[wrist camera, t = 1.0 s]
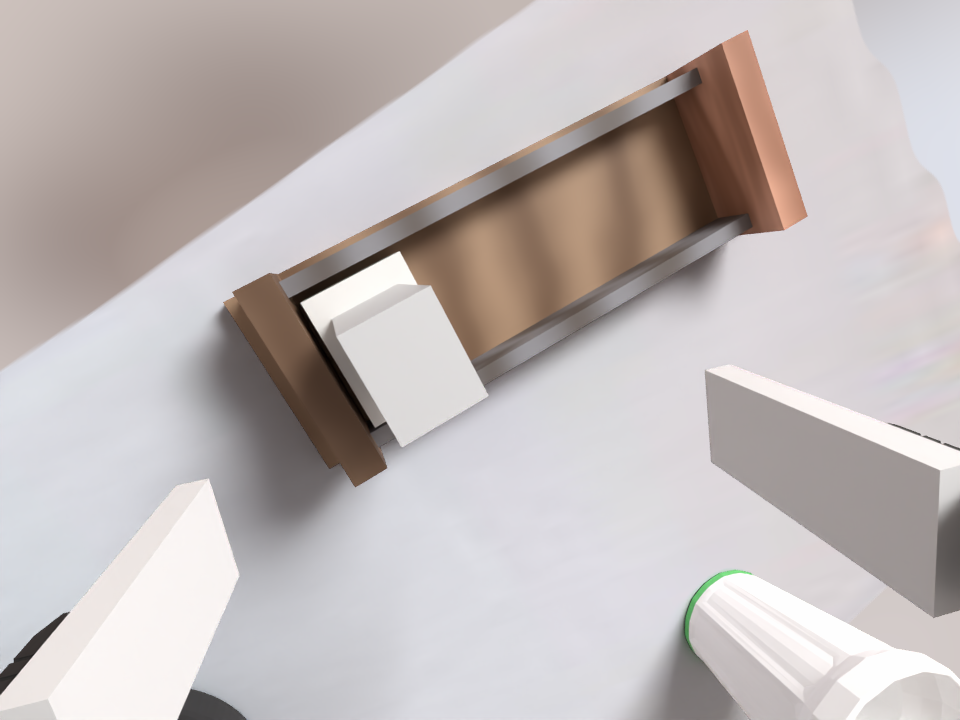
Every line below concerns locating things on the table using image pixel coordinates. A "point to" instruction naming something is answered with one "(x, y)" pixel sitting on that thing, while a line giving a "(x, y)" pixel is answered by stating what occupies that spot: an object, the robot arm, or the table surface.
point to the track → (545, 237)
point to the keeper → (396, 348)
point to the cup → (808, 659)
